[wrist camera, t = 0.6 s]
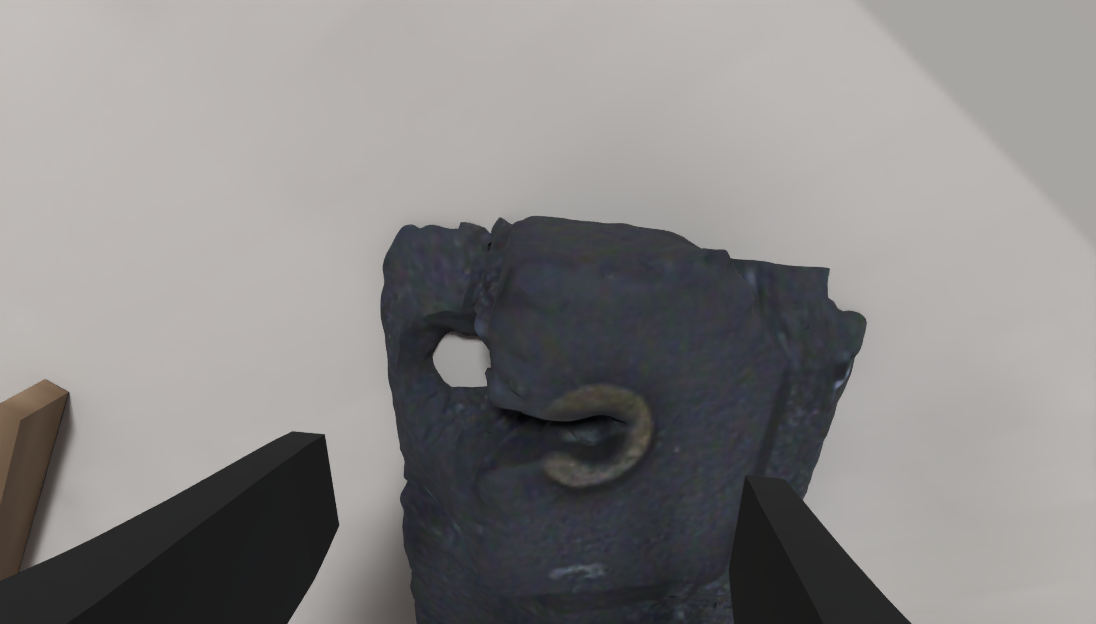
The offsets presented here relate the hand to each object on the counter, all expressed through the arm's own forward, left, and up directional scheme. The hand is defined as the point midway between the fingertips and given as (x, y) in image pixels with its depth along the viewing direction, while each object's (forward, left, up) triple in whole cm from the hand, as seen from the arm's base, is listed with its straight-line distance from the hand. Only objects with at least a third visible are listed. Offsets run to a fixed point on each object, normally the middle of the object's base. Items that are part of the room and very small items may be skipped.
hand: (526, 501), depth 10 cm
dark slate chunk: (-5, +7, -10) cm, 13 cm away
